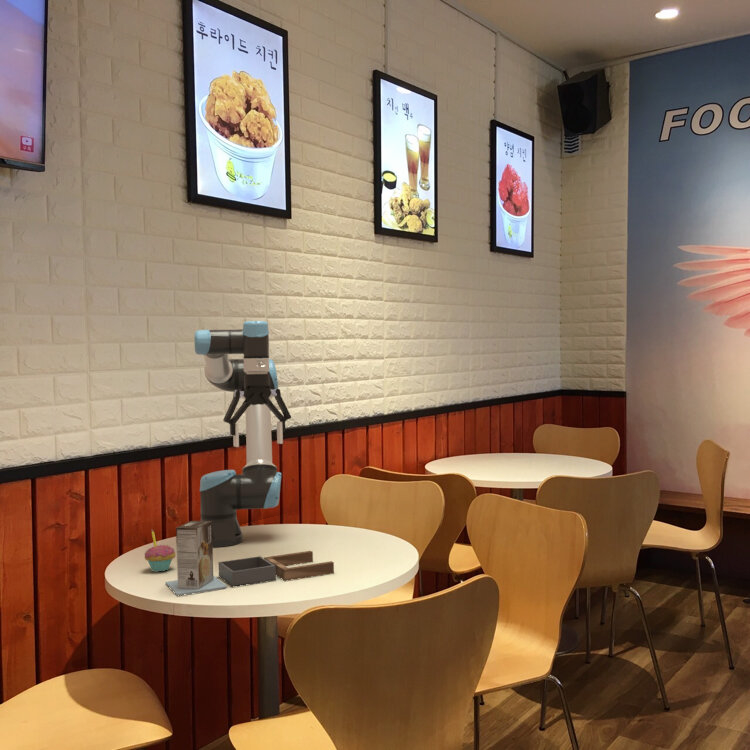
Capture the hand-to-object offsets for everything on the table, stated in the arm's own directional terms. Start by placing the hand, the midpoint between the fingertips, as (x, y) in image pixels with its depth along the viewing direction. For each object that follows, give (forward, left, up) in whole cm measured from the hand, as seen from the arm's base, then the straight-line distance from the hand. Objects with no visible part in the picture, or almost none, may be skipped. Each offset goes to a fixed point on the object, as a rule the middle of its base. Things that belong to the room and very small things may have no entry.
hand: (258, 445), depth 234 cm
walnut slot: (+15, +6, -35) cm, 38 cm away
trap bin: (+15, -9, -35) cm, 39 cm away
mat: (+15, -24, -35) cm, 45 cm away
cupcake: (-7, -28, -35) cm, 45 cm away
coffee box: (+15, -24, -34) cm, 44 cm away
